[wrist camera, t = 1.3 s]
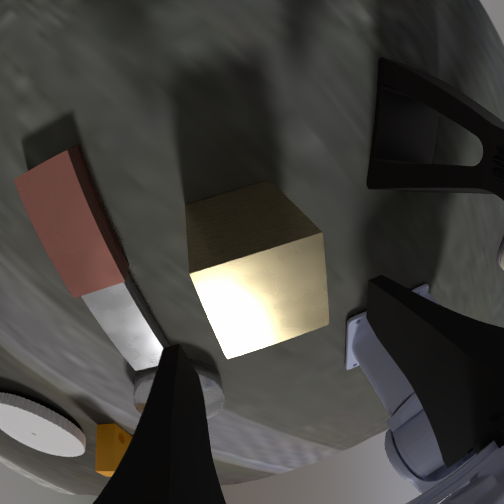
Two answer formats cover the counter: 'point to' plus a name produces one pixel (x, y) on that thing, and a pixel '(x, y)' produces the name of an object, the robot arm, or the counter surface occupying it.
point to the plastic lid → (40, 427)
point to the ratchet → (100, 268)
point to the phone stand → (429, 135)
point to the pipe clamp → (110, 447)
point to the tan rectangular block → (256, 267)
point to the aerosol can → (501, 255)
